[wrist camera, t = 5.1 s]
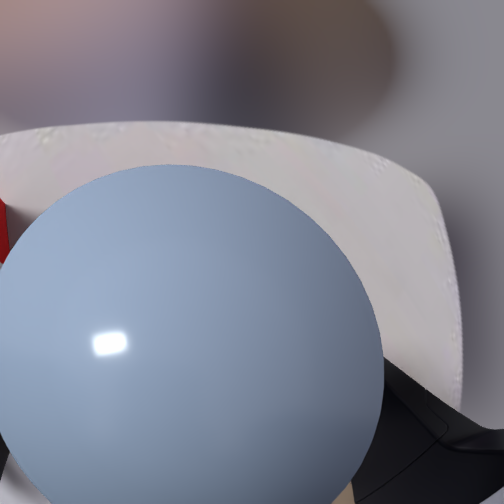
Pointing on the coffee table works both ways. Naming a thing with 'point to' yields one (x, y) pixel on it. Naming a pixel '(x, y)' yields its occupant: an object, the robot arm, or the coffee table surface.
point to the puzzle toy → (3, 235)
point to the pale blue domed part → (185, 346)
